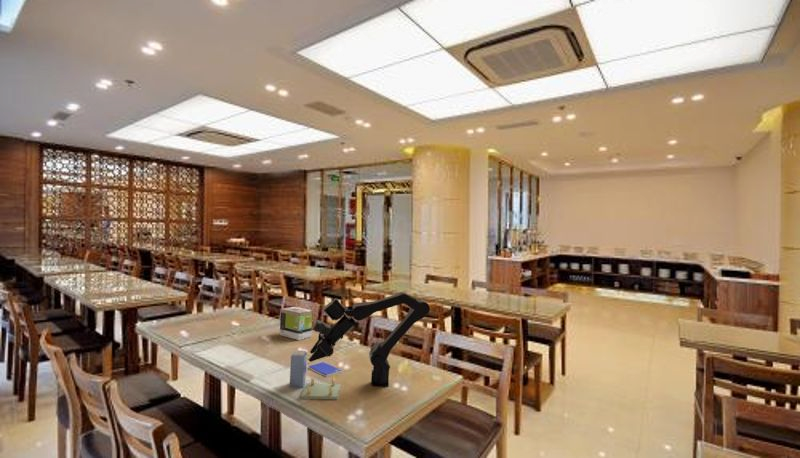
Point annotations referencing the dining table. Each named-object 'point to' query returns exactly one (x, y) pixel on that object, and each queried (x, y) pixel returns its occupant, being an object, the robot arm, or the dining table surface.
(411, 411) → the dining table surface
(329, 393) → the chassis
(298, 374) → the block
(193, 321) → the dining table surface
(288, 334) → the tea box
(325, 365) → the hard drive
